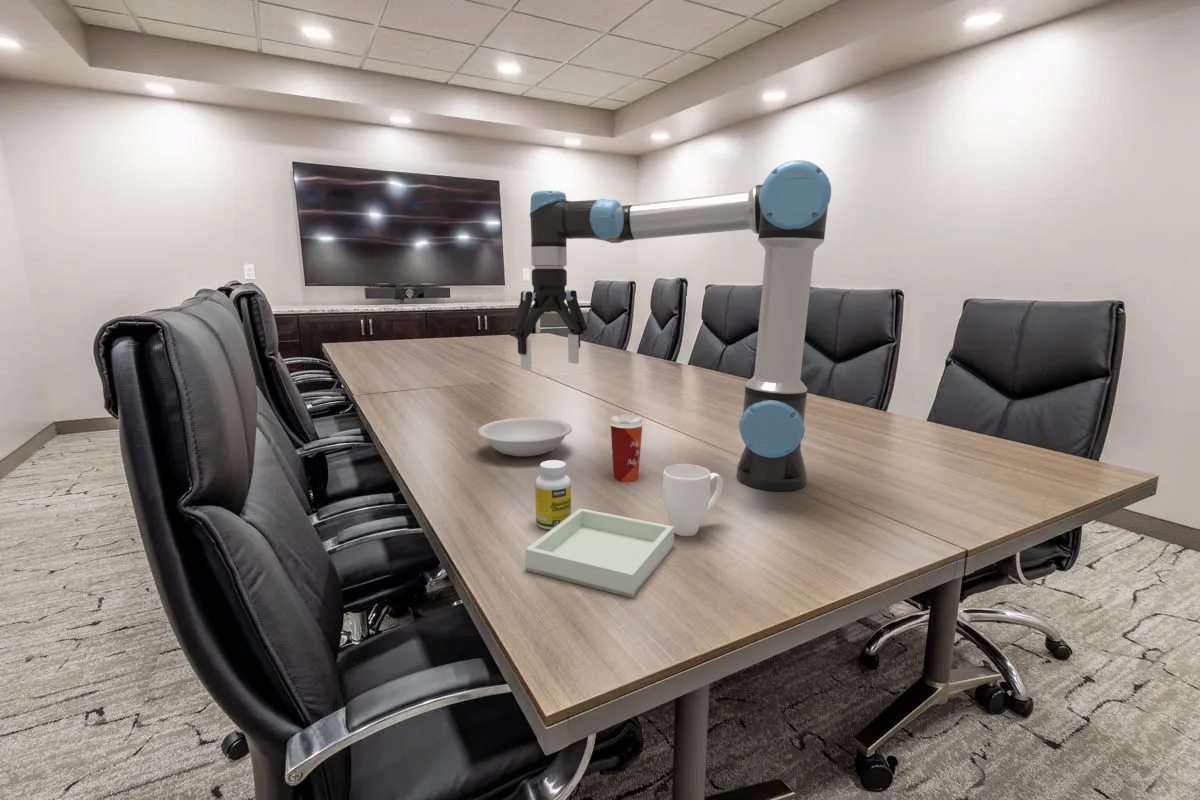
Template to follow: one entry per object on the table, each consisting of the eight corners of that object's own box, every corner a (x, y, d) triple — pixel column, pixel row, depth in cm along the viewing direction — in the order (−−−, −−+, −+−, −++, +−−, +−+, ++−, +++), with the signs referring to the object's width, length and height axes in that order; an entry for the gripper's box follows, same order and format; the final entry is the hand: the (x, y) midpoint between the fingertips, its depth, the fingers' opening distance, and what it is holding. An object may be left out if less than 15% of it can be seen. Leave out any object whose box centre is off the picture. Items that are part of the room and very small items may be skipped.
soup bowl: (589, 456, 147) (589, 431, 146) (503, 474, 134) (502, 446, 132) (544, 435, 166) (543, 413, 165) (465, 449, 153) (463, 425, 152)
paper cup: (640, 484, 127) (641, 423, 124) (606, 482, 128) (606, 421, 125) (644, 472, 134) (645, 414, 131) (612, 470, 136) (612, 413, 133)
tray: (673, 546, 98) (674, 526, 97) (632, 598, 82) (632, 575, 81) (580, 526, 106) (579, 508, 105) (525, 570, 90) (525, 549, 89)
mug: (679, 545, 98) (681, 482, 96) (652, 527, 105) (654, 467, 103) (734, 531, 103) (737, 471, 101) (705, 515, 111) (708, 458, 108)
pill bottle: (544, 533, 103) (542, 471, 100) (531, 520, 108) (529, 461, 106) (577, 526, 105) (576, 466, 103) (562, 514, 111) (561, 456, 109)
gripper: (580, 268, 134) (580, 358, 139) (490, 267, 117) (493, 370, 122) (602, 268, 129) (602, 362, 134) (512, 267, 112) (515, 374, 116)
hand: (550, 366), depth 128 cm, fingers open, 13 cm apart
